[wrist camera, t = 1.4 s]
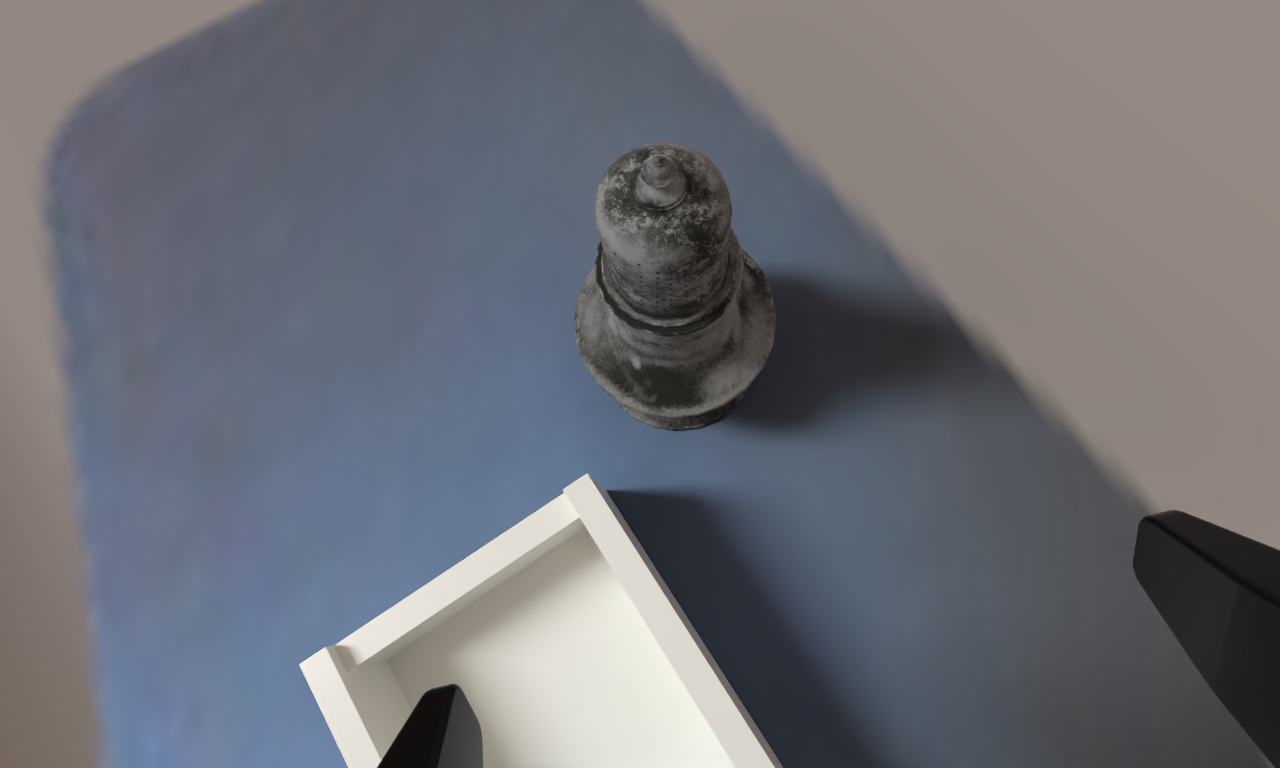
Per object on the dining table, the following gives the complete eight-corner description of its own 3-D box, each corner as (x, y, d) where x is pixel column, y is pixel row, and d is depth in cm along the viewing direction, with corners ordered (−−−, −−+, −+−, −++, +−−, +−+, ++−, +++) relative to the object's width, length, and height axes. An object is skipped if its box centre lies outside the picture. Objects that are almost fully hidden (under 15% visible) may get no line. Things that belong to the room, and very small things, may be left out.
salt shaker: (711, 244, 26) (720, -29, 14) (799, 386, 24) (890, 212, 13) (562, 322, 25) (445, 110, 14) (641, 471, 24) (585, 373, 12)
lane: (833, 844, 21) (873, 927, 16) (564, 1040, 20) (521, 1188, 15) (605, 489, 24) (581, 468, 19) (366, 649, 23) (278, 668, 18)
